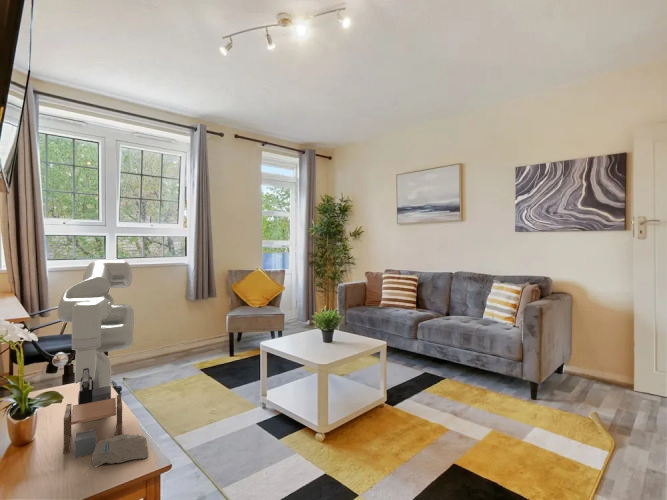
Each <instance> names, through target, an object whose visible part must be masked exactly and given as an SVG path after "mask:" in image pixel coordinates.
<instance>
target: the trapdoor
mask: <svg viewBox="0 0 667 500" xmlns="http://www.w3.org/2000/svg"><path fill="white" fill-rule="evenodd" d="M77 399H78V400H77V402H78V403H77V404H75V405H72V408H71V426H72V425H76V424H82V423H86V422H91V421H92V422H93V421H96V420H101V419H105V418H110V417H114V416H117V397H112V385H111V386H107V387H101V388H95V389H93V390H92V402H91V403H86V404H79V394H78V396H77Z"/></svg>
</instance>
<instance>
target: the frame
mask: <svg viewBox="0 0 667 500" xmlns="http://www.w3.org/2000/svg"><path fill="white" fill-rule="evenodd" d="M71 417H72V403H67V404H66V407H65V410H64V416H63V449H62V454H67V453H70V452H71V445H72V438H73V433H72V425H71ZM115 431H116V432H115V433H116V436H118V435H124V433H123V401H122V394H116V424H115Z"/></svg>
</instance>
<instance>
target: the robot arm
mask: <svg viewBox="0 0 667 500" xmlns="http://www.w3.org/2000/svg"><path fill="white" fill-rule="evenodd" d="M85 270H86V271H84V273H83V275H82V281H79V282H77V283H75V284H73V285H72V286H70V287H68V288H67V289H65V291H64V292H63V293H62V295H61V298H60V299H59V303H58V306H57V310H56V311H57V313H56V315H57V317H58V319H59V321H60V322H63V323H71V350H72V351H75V357H74V358H75V359H74V363H75V364H74V384H78V383H79V390H78V395H79V404H86V403H91V402H92V390H93V389H95V388H101V387H107V386H111V387H112V362H111V360H110V358H109V357H108V356H107V354H105V353H106V352H115V351H122V350H123V351H124V350H127V349H129V348H131V346H132V345H133V342H134V335H135V333H134V329H135V311H134V309H133V306H131V305H130V304H127V303H125V304H124V303H121V304H120V303H119V304H118V303H117V304H114V303H115V301H114V297H112V295H110V293H109V290H110V289H124V288H128V287H130V286H131V285H132V282H133V271H132V268H131V266H130V264H129V262H127V261H126V260H122V259H119V260H118V259H114V260H113V259H112V260H108V259H107V260H105V259H104V260H103V259H102V260H99V259H98V260H94V261H92V262H90V263H88V265H87V267H86V269H85Z"/></svg>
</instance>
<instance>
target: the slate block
mask: <svg viewBox="0 0 667 500" xmlns="http://www.w3.org/2000/svg"><path fill="white" fill-rule="evenodd" d="M96 445H97V428H93V429H89V430H85V431H79V432H76V434H75V441H74V457H75V458H74V459H77V458H79V457H80V458H81V457H83V456H84V457H85V456H89V455H91V454H92V455H93V452H94V450H95V447H96Z"/></svg>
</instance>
